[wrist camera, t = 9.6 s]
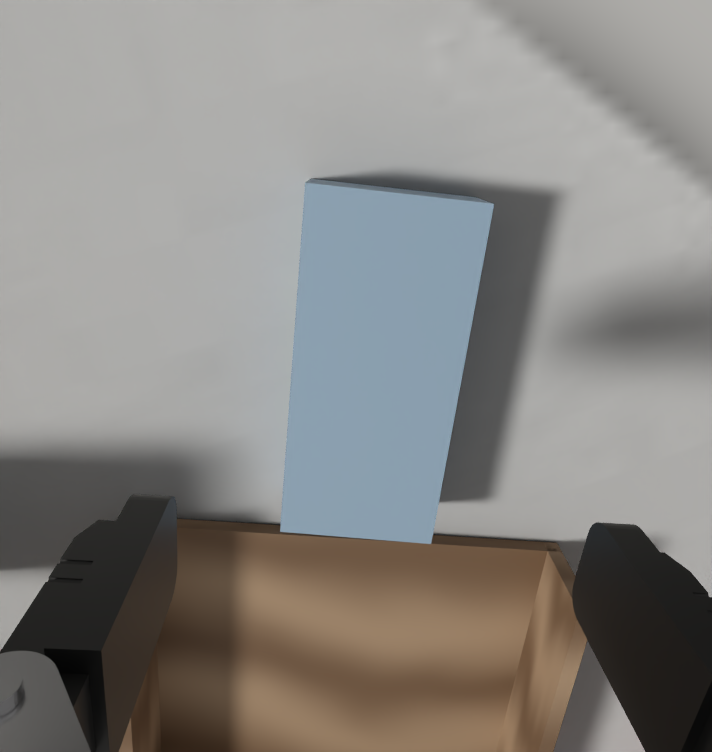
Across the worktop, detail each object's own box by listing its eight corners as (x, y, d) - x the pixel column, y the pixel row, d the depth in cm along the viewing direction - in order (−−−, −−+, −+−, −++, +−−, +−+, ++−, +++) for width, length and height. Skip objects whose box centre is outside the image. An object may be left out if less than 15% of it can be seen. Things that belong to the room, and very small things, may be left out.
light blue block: (311, 178, 19) (305, 182, 17) (473, 196, 20) (494, 203, 17) (288, 486, 24) (279, 531, 21) (421, 498, 24) (431, 544, 21)
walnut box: (141, 516, 24) (104, 585, 20) (556, 542, 24) (595, 613, 21) (153, 756, 29) (125, 847, 25) (497, 771, 29) (519, 860, 26)
